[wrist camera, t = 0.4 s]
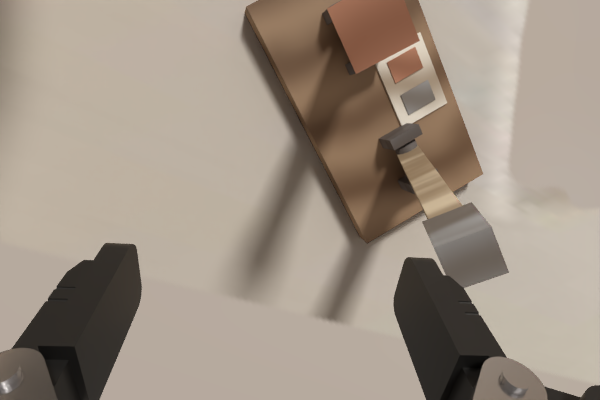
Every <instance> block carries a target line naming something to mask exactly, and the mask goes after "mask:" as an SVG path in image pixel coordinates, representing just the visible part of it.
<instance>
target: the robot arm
mask: <svg viewBox="0 0 600 400" xmlns="http://www.w3.org/2000/svg"><path fill="white" fill-rule="evenodd" d="M141 287H142V286H141V278H140V270H139V263H138V255H137V249H136V246H135V245H134V244H118V243H106V244H104V245H103V247H102V248H101V250H100V251H99V253H98V254H97V256H96V257H95V259H94V260H83V261H82V262H80V263H79V264H78V265H76V266H75V267H73V268H72V269H71V270H69V271H68V272H67V273H66V274H65V276H64V277H63V278H62V280H61V281H60V282H59V284H58V285H57V289H55V290H54V291H53V292H52V294H51V295H50V296H49V298H48V301H46V302H45V303H44V305H43V306H42V307H41V309H40V310H39V312H38V313H37V314H36V316H35V317H34V319H33V320H32V321H31V323H30V324H29V325H28V327H27V328H26V330H25V331H24V332H23V334H22V335H21V336H20V338H19V339H18V341H17V342H16V344H15V345H14V346H13V348H12V349H10V350H7V351H3V352H1V353H0V400H99V399H100V396H101V394H102V392H103V389H104V387H105V385H106V382H107V380H108V378H109V375H110V373H111V370H112V368H113V366H114V363H115V361H116V359H117V356H118V354H119V352H120V349H121V347H122V344H123V342H124V340H125V337H126V335H127V333H128V330H129V328H130V326H131V323H132V321H133V318H134V316H135V314H136V311H137V309H138V306H139V303H140V299H141V290H142V289H141ZM471 302H472V301H471V300H470V298H469V296H468V295H467V293H466V291H465V290H464V288H463V287H462V286H461V285H459V284H458V283H457V282H456V281H455V280H454V279H453V278H451V277H450V276H444V275H443V274H442V273H441V271H440V269H439V267H438V266H437V264H436V262H435V261H434V260H433V259H432V258H412V257H408V258H406V259H405V261H404V264H403V267H402V271H401V274H400V278H399V281H398V284H397V288H396V291H395V295H394V312H395V316H396V318H397V321H398V324H399V327H400V329H401V332H402V335H403V338H404V340H405V343H406V346H407V348H408V351H409V354H410V356H411V359H412V362H413V365H414V367H415V370H416V373H417V376H418V378H419V381H420V384H421V386H422V389H423V392H424V395H425V397H426V400H600V385H599V386H591V387H589V388H588V389H587V390H586V391H585V393H584V394H583V395H582V397H577V396H574V395H571V394H567V393H564V392H560V391H557V390H554V389H550V388H547V387H544V385H543V384H542V382H541V381H540V380H539V378H538V377H537V376H536V375H535V374H534V373H533V372H532V371H531V370H529V369H528V368H527V367H525V366H524V365H522V364H521V363H519V362H517V361H514V360H512V359H509V358H507V357H506V356H505V354H504V352H503V351H502V349H501V348H500V346H499V344H498V343H497V341H496V340H495V338H494V336H493V335H492V333H491V332H490V330H489V328H488V327H487V325H486V324H485V322H484V320H483V319H482V317H481V316H480V315H479V314H478V313H479V312H478V311H477V309H476V308H475V306H474V304H472V303H471Z"/></svg>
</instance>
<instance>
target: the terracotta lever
mask: <svg viewBox="0 0 600 400" xmlns="http://www.w3.org/2000/svg"><path fill="white" fill-rule="evenodd" d="M327 10H328V13H329V15H330V17H331V19H332V22H333V24H334V26H335V28H336V31H337V33H338V35H339V37H340V39H341V42H342V44H343V46H344V48H345V51H346V53H347V55H348V57H349V60H350V62H351V64H352V66H353V68H354V71H355V73H356V74H357V73H359V72H361V71H363V70H365V69H367V68H369V67H371V66H373V65H374V64H376V63H378V62H380V61H382V60H384V59H386V58H388V57H390V56H392V55H394V54H395V53H397V52H399V51H401V50H403V49H405V48H407V47H409V46H411V45H413V44H415V43H416V42H418V41H420V40H419V37H418V35H417V32H416V29H415V27H414V24H413V22H412V19H411V16H410V14H409V11H408V9H407V6H406V3H405V1H404V0H341V1H340V2H338V3H336V4H334V5H333V6H331V7H329V8H328V9H327Z"/></svg>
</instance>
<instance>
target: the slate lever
mask: <svg viewBox="0 0 600 400" xmlns="http://www.w3.org/2000/svg"><path fill="white" fill-rule="evenodd" d="M395 152H396V154H397V156H398V158H399V161H400V163H401V165H402V167H403V170H404V172H405V174H406V176H407V178H408V180H409V182H410V184H411V186H412V188H413V190H414V192H415V194H416V196H417V199H418V201H419V203H420V205H421V207H422V209H423V211H424V213H425V215H426V217H427V219H428V220H425V221H423V225H424V227H425V229H426V231H427V234H428V236H429V238H430V240H431V243H432V245H433V247H434V249H435V251H436V254H437V256H438V258H439V260H440V263H441V265H442V267H443V269H444V272H445V274H446V276H450V277H451V278H453V279H454V280H455V281H456V282H457V283H458V284H459V285H461V286H462V287H463V288H465V287H468V286H471V285H474V284H477V283H480V282H483V281H486V280H489V279H492V278H494V277H497V276H500V275H503V274H506V273H509V271H508V269H507V266H506V264H505V261H504V258H503V256H502V253H501V251H500V248H499V245H498V243H497V240H496V238H495V235H494V232H493V230H492V227H491V226H490V224H489V223H488V222H487V221H486V219H485V218H484V217H483V216H482V215H481V213H480V212H479V211H478V210H477V208H476V207H475V206H474V205H473V203H472V202H471V203H468V204H466V205H463V206H462V204H461V203H460V201H459V200H458V199H457V197H456V196H455V195H454V193H453V192H452V191H451V189H450V188H449V187H448V185H447V184H446V183H445V181H444V180H443V179H442V177H441V176H440V174H439V173H438V172H437V170H436V169H435V168H434V166H433V165H432V164H431V162H430V161H429V160H428V158H427V157H426V156H425V154H424V153H423V152H422V150H421V149H420V147H419V146H418V145H417V143H416V140H415V139H413V140H412V141H410V142H408V143H407V144H405V145H403V146H401V147H400V148H398V149H396V150H395Z"/></svg>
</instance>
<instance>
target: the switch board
mask: <svg viewBox="0 0 600 400" xmlns="http://www.w3.org/2000/svg"><path fill="white" fill-rule="evenodd" d="M340 1H341V0H258V1H256V2H254V3H252V4H251V5H249V6H247V7H246V10H245V14H246V16H247V18H248V20H249V22H250V24H251V26H252V28H253V30H254V32H255V34H256V36H257V38H258V40H259V42H260V43H261V45H262V47H263V49H264V51H265V53H266V55H267V57H268V59H269V61H270V63H271V65H272V67H273V69H274V71H275V73H276V75H277V77H278V78H279V80H280V82H281V84H282V86H283V88H284V90H285V92H286V94H287V96H288V98H289V100H290V102H291V104H292V106H293V108H294V110H295V112H296V113H297V115H298V117H299V119H300V121H301V123H302V125H303V127H304V129H305V131H306V133H307V135H308V137H309V139H310V141H311V143H312V145H313V147H314V148H315V150H316V152H317V154H318V156H319V158H320V160H321V162H322V164H323V166H324V168H325V170H326V172H327V174H328V176H329V178H330V180H331V182H332V183H333V185H334V187H335V189H336V191H337V193H338V195H339V197H340V199H341V201H342V203H343V205H344V207H345V209H346V211H347V213H348V215H349V217H350V218H351V220H352V222H353V224H354V226H355V228H356V230H357V232H358V234H359V236H360V237H361V238H362V239H363V240H364V241H365V242H366V243H369V242H370V241H372V240H374V239H375V238H377V237H379V236H380V235H382V234H384V233H385V232H387V231H389V230H390V229H392V228H394V227H395V226H397V225H399V224H400V223H402V222H404V221H405V220H407V219H409V218H410V217H412V216H414V215H415V214H417V213H419V212H420V211H422V210H423V209H422V207H421V205H420V203H419V201H418V199H417V196H416V194H415V192H414V190H413V188H412V186H411V184H410V182H409V180H408V178H407V176H406V174H405V172H404V170H403V167H402V165H401V163H400V161H399V158H398V156H397V154H396V152H395V150H396V149H398V148H400V147H401V146H403V145H405V144H407V143H408V142H410V141H412V140H413V139H415V140H416V143H417V145H418V146H419V147H420V149H421V150H422V152H423V153H424V154H425V156H426V157H427V158H428V160H429V161H430V162H431V164H432V165H433V166H434V168H435V169H436V170H437V172H438V173H439V174H440V176H441V177H442V179H443V180H444V181H445V183H446V184H447V185H448V187H449V188H450V189H451V191H452V192H454V191H455V190H457V189H459V188H460V187H462V186H464V185H465V184H467V183H469V182H470V181H472V180H474V179H475V178H477V177H479V176H480V175H482V174H483V172H482V169H481V167H480V164H479V161H478V159H477V156H476V153H475V151H474V148H473V145H472V143H471V140H470V137H469V135H468V132H467V129H466V127H465V124H464V121H463V119H462V116H461V113H460V111H459V108H458V105H457V103H456V100H455V97H454V94H453V92H452V89H451V86H450V84H449V81H448V78H447V76H446V73H445V70H444V68H443V65H442V62H441V60H440V57H439V54H438V52H437V49H436V46H435V44H434V41H433V38H432V36H431V33H430V30H429V28H428V25H427V22H426V19H425V17H424V14H423V11H422V9H421V6H420V3H419V1H418V0H404V1H405V3H406V6H407V9H408V11H409V14H410V16H411V19H412V22H413V24H414V27H415V29H416V32H417V35H418V37H419V40H420V41H418V42H416V43H415V44H413V45H411V46H409V47H407V48H405V49H403V50H401V51H399V52H397V53H395V54H394V55H392V56H390V57H388V58H386V59H384V60H382V61H380V62H378V63H376V64H374V65H373V66H371V67H369V68H367V69H365V70H363V71H361V72H359V73H357V74H356V73H355V71H354V68H353V66H352V64H351V62H350V60H349V57H348V55H347V53H346V51H345V48H344V46H343V44H342V42H341V39H340V37H339V35H338V33H337V31H336V28H335V26H334V24H333V22H332V19H331V17H330V15H329V13H328V10H327V9H328V8H329V7H331V6H333V5H334V4H336V3H338V2H340Z"/></svg>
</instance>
